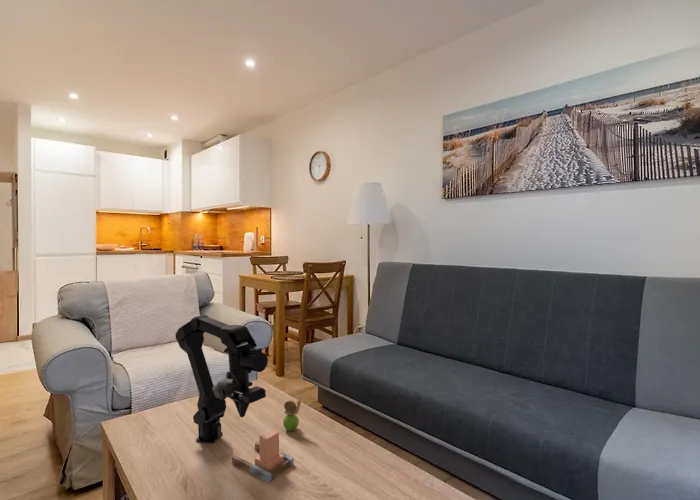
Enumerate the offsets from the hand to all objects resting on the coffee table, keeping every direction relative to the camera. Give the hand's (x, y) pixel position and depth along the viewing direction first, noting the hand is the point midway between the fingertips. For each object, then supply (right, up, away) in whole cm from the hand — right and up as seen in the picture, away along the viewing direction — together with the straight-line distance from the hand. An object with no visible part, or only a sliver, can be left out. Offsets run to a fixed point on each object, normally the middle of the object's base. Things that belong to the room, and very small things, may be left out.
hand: (242, 416), depth 126 cm
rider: (+10, -13, -6) cm, 17 cm away
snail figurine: (+13, -11, +16) cm, 24 cm away
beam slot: (+7, -12, -4) cm, 15 cm away
